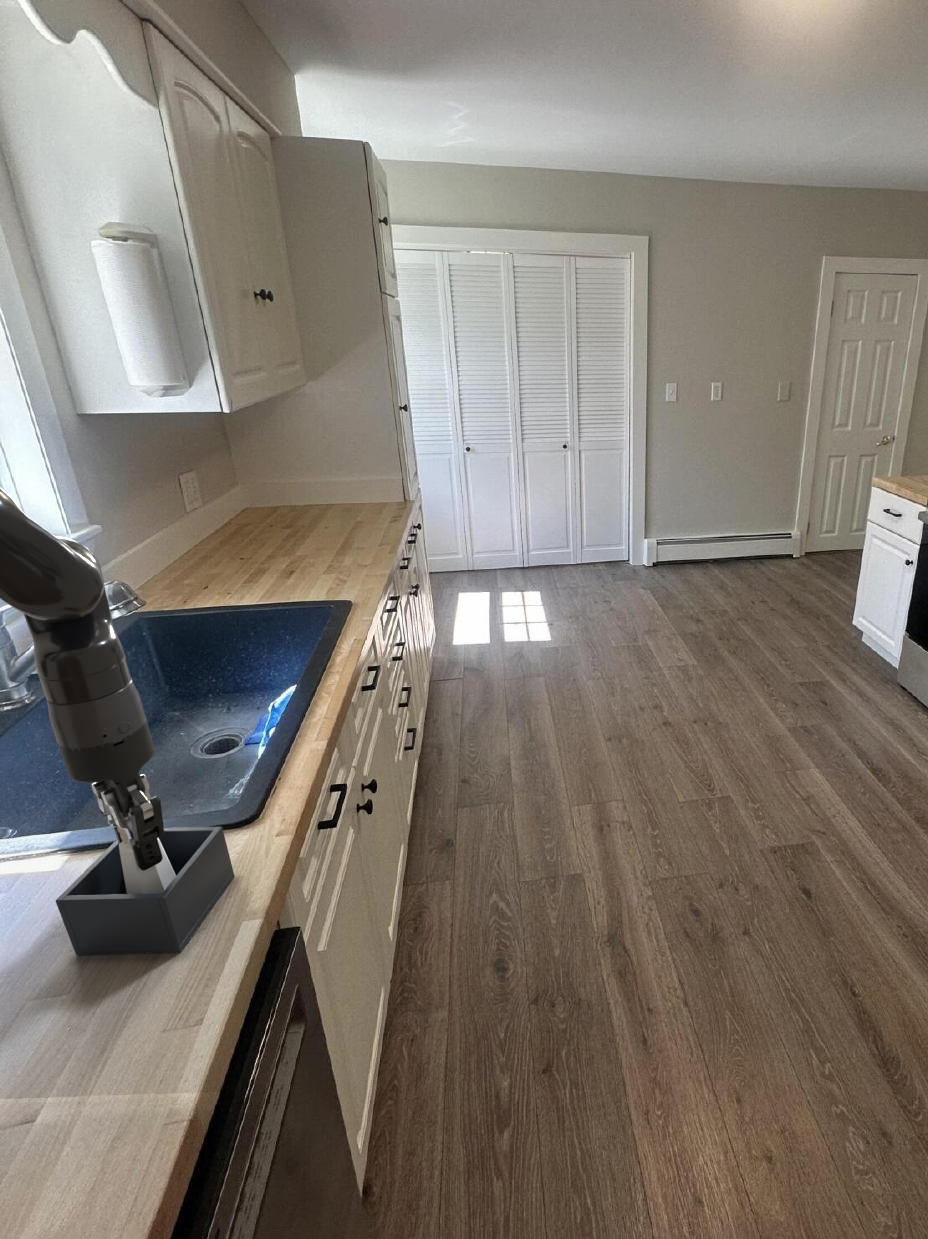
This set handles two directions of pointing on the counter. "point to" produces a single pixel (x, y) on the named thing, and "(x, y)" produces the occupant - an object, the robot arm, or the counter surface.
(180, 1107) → the counter surface
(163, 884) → the pepper shaker
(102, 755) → the robot arm
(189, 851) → the bin
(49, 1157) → the counter surface
